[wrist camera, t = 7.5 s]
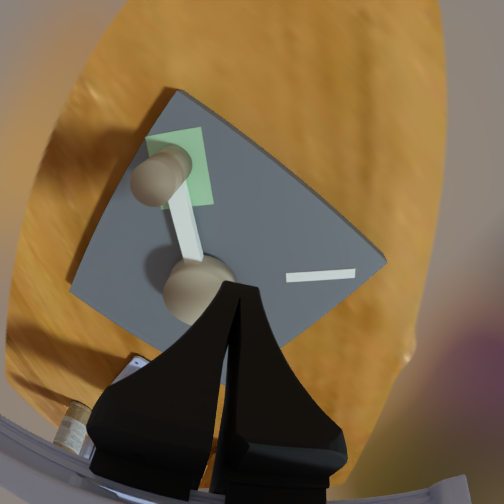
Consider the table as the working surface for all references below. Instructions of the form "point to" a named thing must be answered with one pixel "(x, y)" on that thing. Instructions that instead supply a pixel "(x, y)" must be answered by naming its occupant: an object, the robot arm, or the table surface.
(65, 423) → the spice jar
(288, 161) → the table surface
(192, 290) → the crank handle
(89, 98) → the table surface
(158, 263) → the dial board
